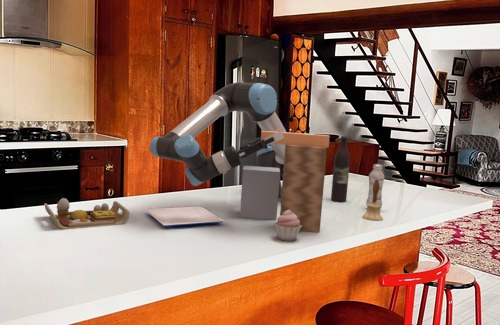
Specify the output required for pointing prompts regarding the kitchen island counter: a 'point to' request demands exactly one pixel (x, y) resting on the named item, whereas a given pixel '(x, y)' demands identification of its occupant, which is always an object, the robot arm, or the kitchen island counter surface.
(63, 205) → the toy food set
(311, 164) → the tall wooden block
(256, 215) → the grey rectangular block
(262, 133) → the bar
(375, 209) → the hand bell
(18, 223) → the kitchen island counter surface
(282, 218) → the cupcake
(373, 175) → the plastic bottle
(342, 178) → the wine bottle
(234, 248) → the kitchen island counter surface
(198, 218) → the plate
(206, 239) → the kitchen island counter surface
